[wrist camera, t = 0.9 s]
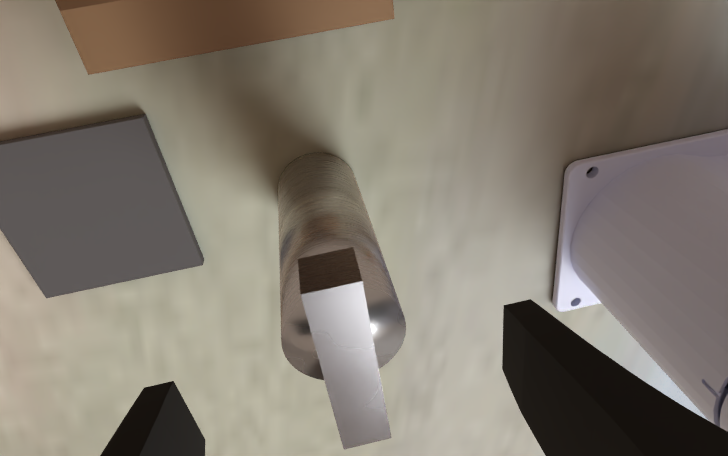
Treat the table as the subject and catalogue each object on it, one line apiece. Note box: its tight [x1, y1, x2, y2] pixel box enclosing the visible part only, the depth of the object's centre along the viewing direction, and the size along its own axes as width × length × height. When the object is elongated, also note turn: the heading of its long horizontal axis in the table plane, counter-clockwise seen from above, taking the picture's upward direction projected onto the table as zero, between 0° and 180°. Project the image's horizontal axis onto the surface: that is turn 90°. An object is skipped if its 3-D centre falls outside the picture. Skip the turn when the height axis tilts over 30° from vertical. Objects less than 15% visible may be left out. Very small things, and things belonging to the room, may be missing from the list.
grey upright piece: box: [278, 153, 406, 449], centre depth 14 cm, size 3×5×9 cm, turn 8°
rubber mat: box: [0, 114, 204, 298], centre depth 17 cm, size 6×6×1 cm
